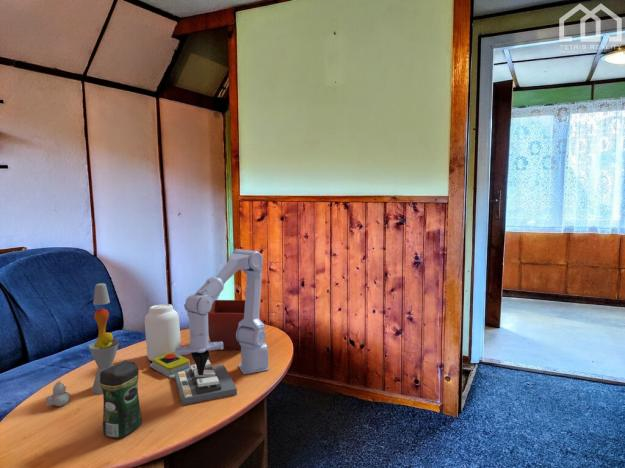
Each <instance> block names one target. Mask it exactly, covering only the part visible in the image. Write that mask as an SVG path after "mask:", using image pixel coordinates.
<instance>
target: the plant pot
mask: <svg viewBox="0 0 625 468" xmlns="http://www.w3.org/2000/svg"><path fill="white" fill-rule="evenodd" d="M244 311H245V299H241V300H240V299H214V302H213V304H212V307H211V310H210V311H209V312H208V332H209V342H223V349H222V350H220V349H216V350H215V351H241V345H239V341H237V339H236V332H237V329H238V324H239V322H240V321H241V320H243V319H244Z"/></svg>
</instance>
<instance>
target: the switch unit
mask: <svg viewBox="0 0 625 468" xmlns="http://www.w3.org/2000/svg"><path fill="white" fill-rule="evenodd" d="M204 370H214V372H215V377H216V376H217V378H218V380H219V384H216V385H209V386H202V387H198V384H197V379H201V378H209V377H195V375H194V372H192V369H189V371H182V372H177V373H175V379H174V380H175V384H176V388H177V391H178V394H179V395H178V396H179V400H180V403H181V405H182V406H185V405H189V404H196V403H200V402H205V401H210V400H214V399H220V398H225V397H230V396H235V395H238V388H237V386H236V384H235V383H234V381H233V379H232V377H231V375H230V374H229V372H228V370H227V368H226V367H225V364H218V365H215V366H214V365H213V366H212V365H211V367H208V368H205V369H204Z"/></svg>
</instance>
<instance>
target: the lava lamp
mask: <svg viewBox="0 0 625 468" xmlns="http://www.w3.org/2000/svg"><path fill="white" fill-rule="evenodd" d="M93 295H94V296H93V301H92V302H93V303H92V304H93V305H94V306H101V305H107V304H110V303H111V301H110V296H109V292H108V288H107V284H106V283H97V284H95V285H94V294H93ZM109 316H110V313H109V311H108V310H107V309H105V308H98V309H97V310H95V312H94V314H93V317H94V319H95V323H96V324H97V326H98V336H97V339H96V341H94V342H92V343H89V345H88V349H89V352H90V353H91V355H92V358H93V360H94V362H95V363H96V366H97V371H96V374H95V378H94V381H93V385H92V388H91V392H92V393H93V394H97V395H103V390H102V388H101V386H100V373H101V372H102V371H103V370H105V369H107V368H109V367H111V366H113V365H114V361H115V357H116V354H117V351H118V348H119V345H120V340H118V339H114V336H113V334H112V333H111V332H110V331H109V332H106V329H107V327H106V326H107V322H108V319H109Z"/></svg>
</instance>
